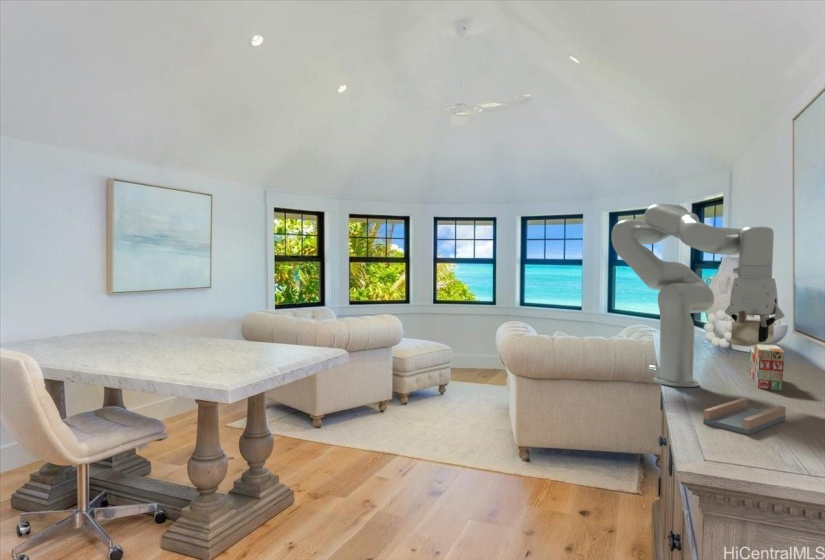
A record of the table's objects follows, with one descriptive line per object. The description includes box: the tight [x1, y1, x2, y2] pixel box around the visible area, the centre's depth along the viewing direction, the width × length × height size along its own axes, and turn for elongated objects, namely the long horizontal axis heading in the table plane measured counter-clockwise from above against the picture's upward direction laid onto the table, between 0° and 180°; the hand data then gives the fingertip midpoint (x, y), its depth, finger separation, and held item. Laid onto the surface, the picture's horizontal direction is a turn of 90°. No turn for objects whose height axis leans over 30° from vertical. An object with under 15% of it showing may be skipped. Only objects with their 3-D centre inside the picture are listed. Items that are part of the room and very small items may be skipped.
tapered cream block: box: [730, 311, 775, 347], centre depth 135 cm, size 4×16×9 cm, turn 125°
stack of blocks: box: [749, 344, 785, 392], centre depth 160 cm, size 21×6×12 cm, turn 152°
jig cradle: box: [702, 397, 787, 436], centre depth 118 cm, size 9×20×3 cm, turn 125°
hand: (752, 339), depth 135 cm, fingers closed on tapered cream block, 4 cm apart
